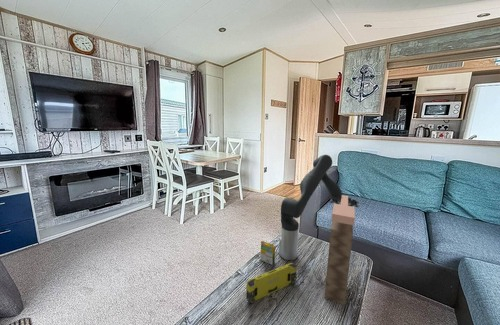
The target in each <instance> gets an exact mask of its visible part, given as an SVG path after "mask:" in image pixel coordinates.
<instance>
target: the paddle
mask: <svg viewBox="0 0 500 325" xmlns="http://www.w3.org/2000/svg"><path fill="white" fill-rule="evenodd" d="M348 197H349V195H344V194H343V195H342V198H341V204H336V203H333V208H332V211H331V212H332V214H331V220H330V221H331V222H332V221H334V222H339V223H345V224H350V225H353V226H354V225H355V220H356V215H355V212H356V211H355V206H348Z"/></svg>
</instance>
